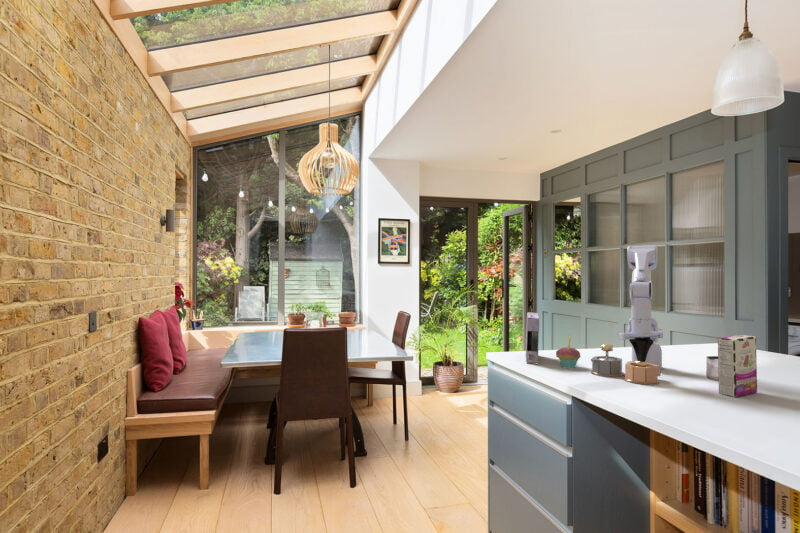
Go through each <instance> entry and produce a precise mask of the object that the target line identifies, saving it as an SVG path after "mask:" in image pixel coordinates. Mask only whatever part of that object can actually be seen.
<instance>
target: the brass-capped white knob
mask: <svg viewBox="0 0 800 533" xmlns="http://www.w3.org/2000/svg"><path fill="white" fill-rule="evenodd" d="M635 366H638V367H648V361H645V362H640V361H637V360H635Z"/></svg>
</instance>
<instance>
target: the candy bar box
mask: <svg viewBox="0 0 800 533" xmlns="http://www.w3.org/2000/svg"><path fill="white" fill-rule="evenodd" d="M717 357H718V358H717V361H718V394H719V395H721V394H722V396H726V395H727V397H730V398H739V397H744V396H748V395H751V394H756V393H758V374H757V373H758V372H757V370H758V367H757V360H758V359H757V336H754V335H747V334H746V335H745V334H737V335H728V336H722V337H718V338H717Z"/></svg>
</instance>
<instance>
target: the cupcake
mask: <svg viewBox="0 0 800 533" xmlns="http://www.w3.org/2000/svg"><path fill="white" fill-rule="evenodd" d="M567 339H568V340H567V347H565V346H564V347H561V348H559V349H558V350H556V351H555V352H556V353H555V355H556V356H555V357H556V358H558V360H559V362H560V365H561V367H562V368H564V369H574V368H576V366H577V363H578V361H579V359H580V358H581V353H580V351H579V350H577V349H576V348H573V347H571V335H570V334H569V335H568V338H567Z"/></svg>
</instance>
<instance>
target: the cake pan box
mask: <svg viewBox="0 0 800 533" xmlns="http://www.w3.org/2000/svg"><path fill="white" fill-rule="evenodd" d="M525 324H526V326H525V327H526V328H525V329H526V330H525V360H526V361H525V363H526V362H527V363H526V364H531V363H538V364H539V332H540V317H539V314H538V312H526V323H525Z"/></svg>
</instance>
